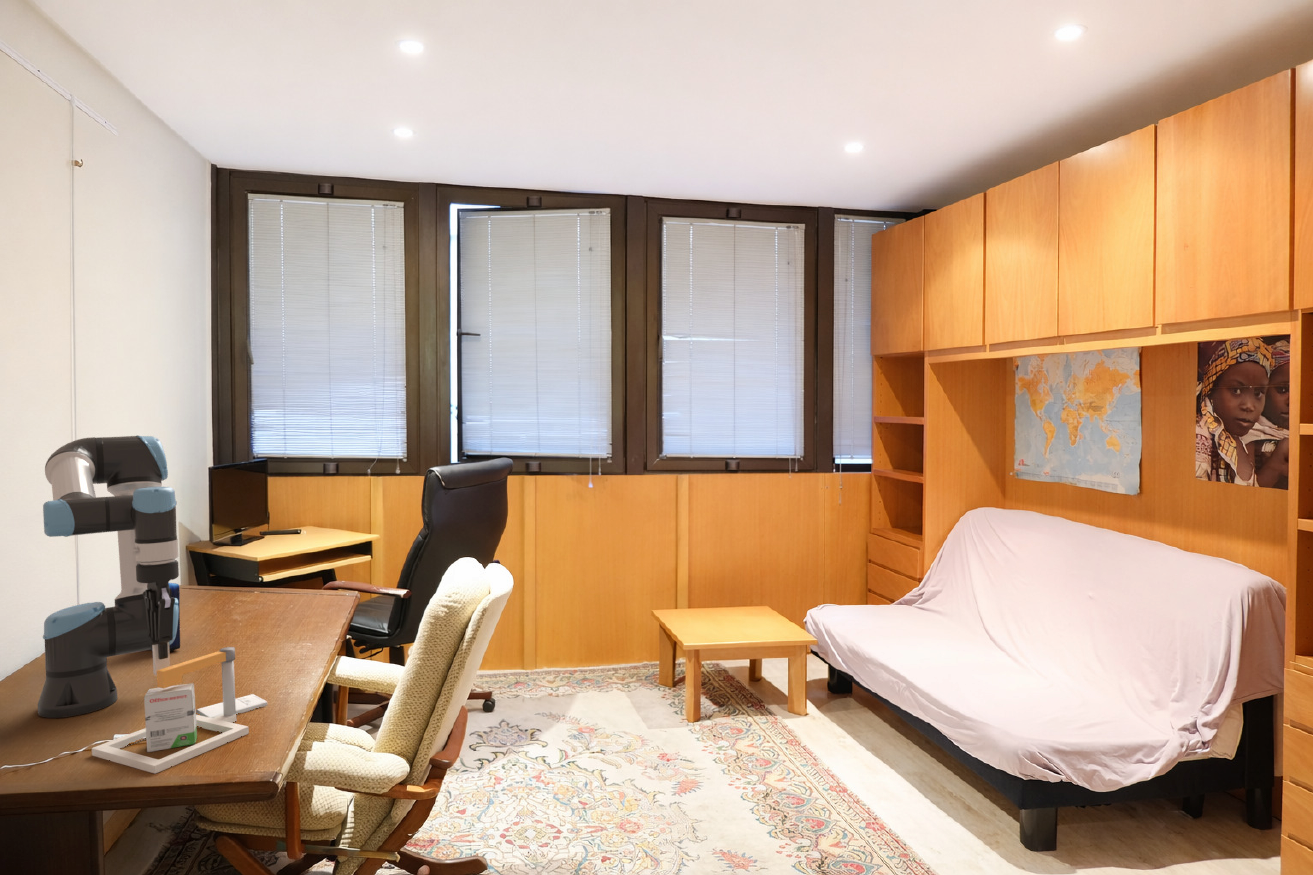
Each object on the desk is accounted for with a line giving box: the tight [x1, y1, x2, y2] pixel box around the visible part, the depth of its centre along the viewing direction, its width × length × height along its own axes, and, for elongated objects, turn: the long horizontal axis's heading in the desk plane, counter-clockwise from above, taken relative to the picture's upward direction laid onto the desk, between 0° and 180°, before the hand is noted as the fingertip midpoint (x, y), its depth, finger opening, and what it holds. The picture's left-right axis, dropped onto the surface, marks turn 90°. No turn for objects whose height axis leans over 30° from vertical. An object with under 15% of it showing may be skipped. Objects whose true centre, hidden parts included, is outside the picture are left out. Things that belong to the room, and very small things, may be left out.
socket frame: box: [91, 660, 250, 775], centre depth 165 cm, size 20×24×14 cm
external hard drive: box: [195, 693, 268, 718], centre depth 182 cm, size 2×8×12 cm
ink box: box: [143, 682, 198, 753], centre depth 163 cm, size 9×5×12 cm, turn 114°
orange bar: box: [156, 646, 236, 689], centre depth 169 cm, size 3×16×4 cm, turn 155°
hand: (161, 672), depth 165 cm, fingers closed
